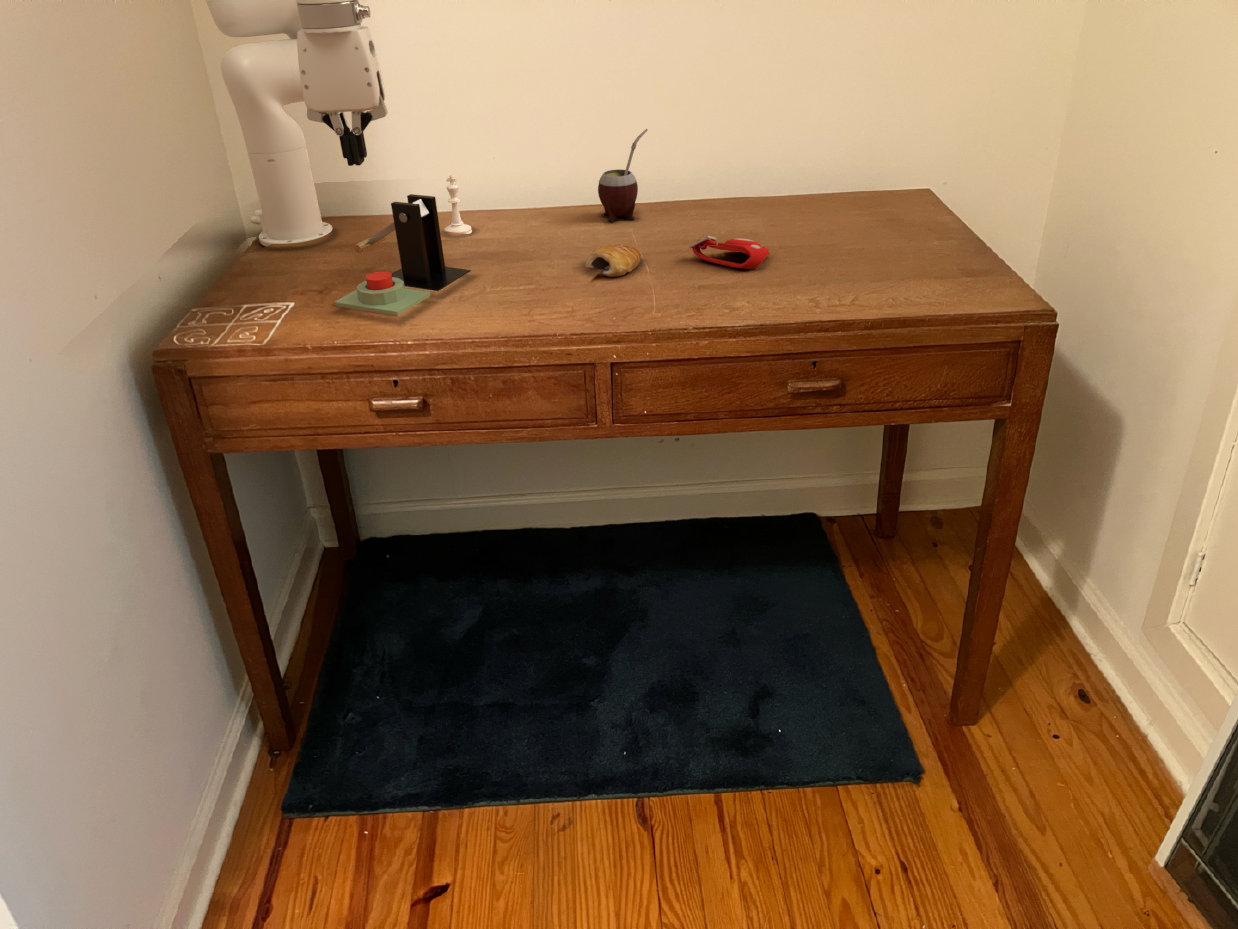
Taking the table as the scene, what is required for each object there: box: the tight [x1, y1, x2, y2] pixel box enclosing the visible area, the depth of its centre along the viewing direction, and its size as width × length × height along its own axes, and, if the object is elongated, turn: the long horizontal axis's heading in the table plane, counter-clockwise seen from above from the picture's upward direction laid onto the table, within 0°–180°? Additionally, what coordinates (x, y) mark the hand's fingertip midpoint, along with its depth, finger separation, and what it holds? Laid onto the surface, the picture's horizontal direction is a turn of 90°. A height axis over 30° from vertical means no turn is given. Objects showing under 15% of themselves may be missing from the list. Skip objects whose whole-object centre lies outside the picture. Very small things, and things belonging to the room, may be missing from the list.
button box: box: [333, 277, 431, 317], centre depth 132 cm, size 11×8×4 cm
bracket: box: [390, 193, 472, 292], centre depth 137 cm, size 11×9×13 cm
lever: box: [353, 199, 429, 254], centre depth 138 cm, size 13×6×2 cm, turn 65°
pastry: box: [584, 244, 641, 278], centre depth 142 cm, size 9×7×4 cm
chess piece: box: [443, 174, 473, 235], centre depth 159 cm, size 5×5×10 cm
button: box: [365, 271, 393, 290], centre depth 130 cm, size 4×4×2 cm
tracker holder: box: [688, 235, 770, 270], centre depth 143 cm, size 12×4×10 cm
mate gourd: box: [597, 128, 648, 224], centre depth 162 cm, size 8×8×15 cm
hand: (356, 162), depth 127 cm, fingers closed
